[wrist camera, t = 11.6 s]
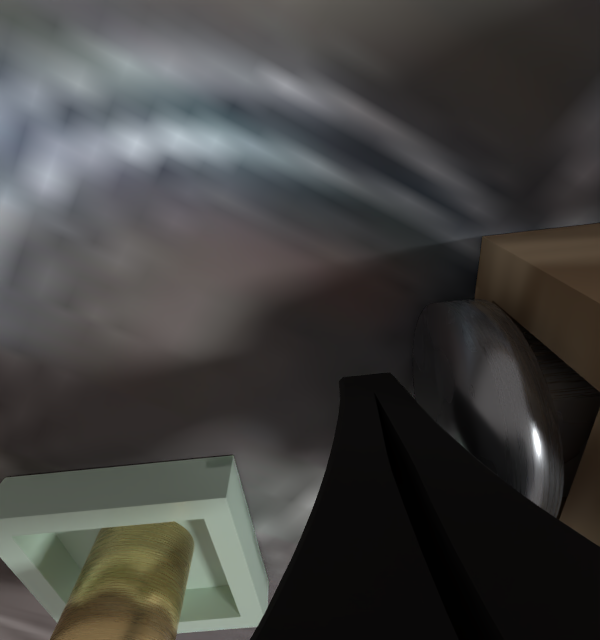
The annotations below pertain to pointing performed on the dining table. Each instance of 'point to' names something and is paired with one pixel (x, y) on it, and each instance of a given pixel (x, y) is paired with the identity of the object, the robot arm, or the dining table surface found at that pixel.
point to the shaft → (504, 397)
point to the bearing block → (555, 325)
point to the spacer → (130, 585)
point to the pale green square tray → (135, 509)
